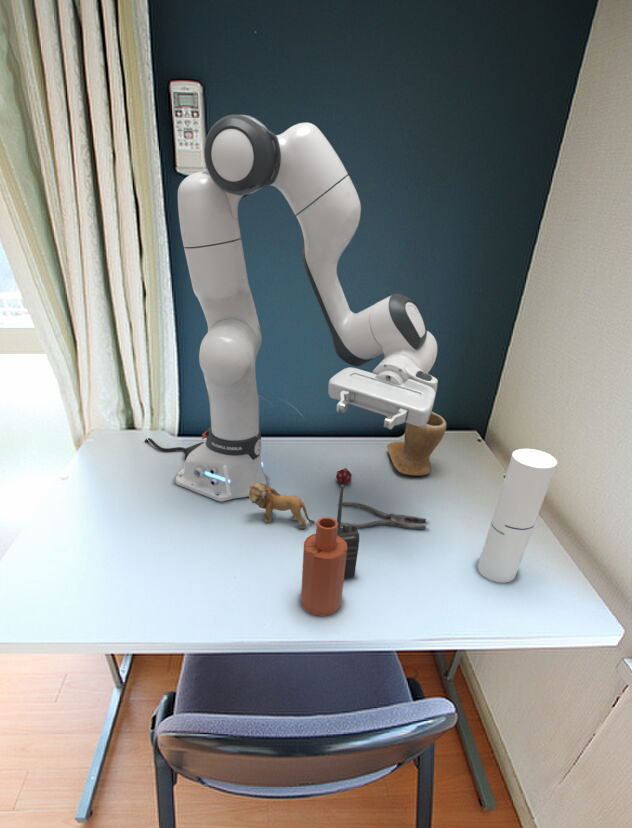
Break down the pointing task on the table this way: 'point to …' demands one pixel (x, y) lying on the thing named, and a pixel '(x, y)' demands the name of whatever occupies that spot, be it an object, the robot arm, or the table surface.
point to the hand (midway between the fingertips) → (363, 417)
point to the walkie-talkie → (348, 539)
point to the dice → (343, 476)
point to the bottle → (323, 569)
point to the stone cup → (417, 446)
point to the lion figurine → (277, 502)
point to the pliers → (393, 518)
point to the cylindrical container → (516, 513)
